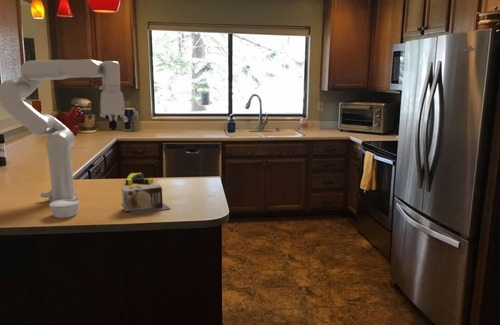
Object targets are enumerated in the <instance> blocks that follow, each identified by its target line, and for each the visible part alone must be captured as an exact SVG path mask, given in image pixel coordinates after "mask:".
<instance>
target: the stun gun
mask: <svg viewBox="0 0 500 325" xmlns="http://www.w3.org/2000/svg"><path fill="white" fill-rule="evenodd" d="M144 176H145V175H144V173H142V172H136V173H135V172H131V173H129V175H128V176H127V178H126V179H125V185H130V186H131V185H133V184H135V183H136V184H139V185H140V184H141V185H152V184H153V183H154V178H151V177H149V178H146V177H144Z"/></svg>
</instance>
